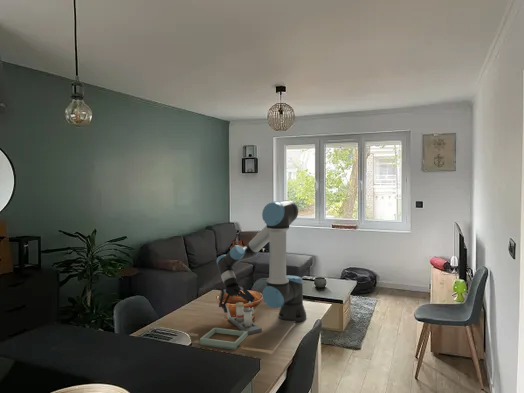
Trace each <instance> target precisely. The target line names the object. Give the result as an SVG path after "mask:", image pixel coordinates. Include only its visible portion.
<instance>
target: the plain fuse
mask: <svg viewBox="0 0 524 393" xmlns="http://www.w3.org/2000/svg"><path fill="white" fill-rule="evenodd" d="M243 311H244V327H245V328H249V327H252V322H253V314H252V308H250V307H249V306H248V307H244V309H243Z"/></svg>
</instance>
